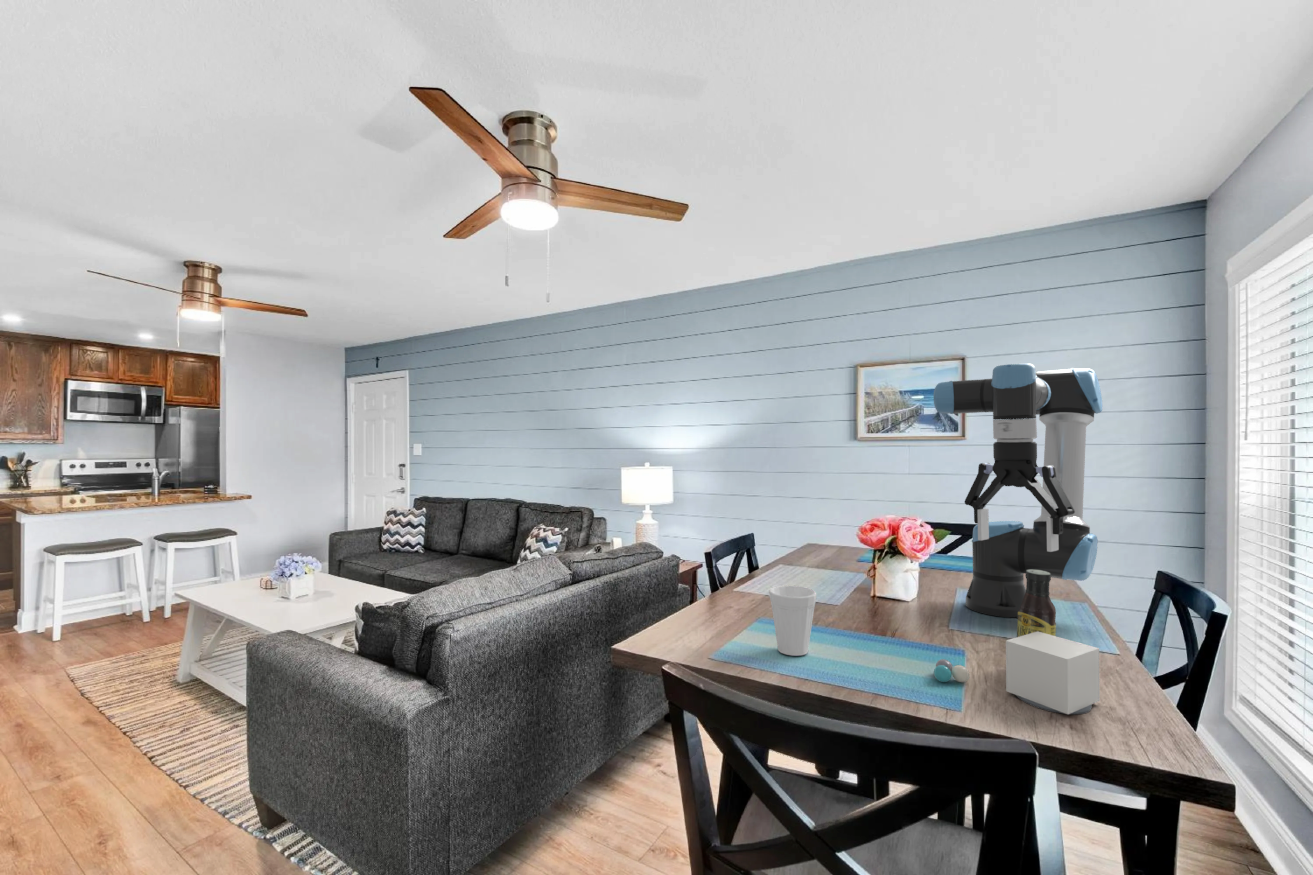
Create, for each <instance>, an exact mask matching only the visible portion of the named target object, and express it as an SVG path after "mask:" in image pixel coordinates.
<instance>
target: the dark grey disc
mask: <svg viewBox="0 0 1313 875" xmlns="http://www.w3.org/2000/svg"><path fill="white" fill-rule="evenodd" d="M1015 696H1016V697H1017V698H1018V699H1019V700H1021V701H1022V702H1024V703H1025V704H1027V705H1030V706H1032V707H1035V708H1038V709H1040V710H1044V711H1047V712H1051V713H1056V714H1057V713H1058V714H1063V715H1064V714H1065V713H1063V712H1060V711H1057V710H1055V709H1052V708H1050V707H1047V706H1044V705H1042V704H1039V703H1036V702H1034V701H1031V700H1028V699H1026V698H1023V697H1021V696H1018V695H1015ZM1092 705H1093V704H1091V705H1089V706H1087V707H1084V708H1082V709H1080V710H1077V711H1075V712H1073V713H1070V714H1069V715H1084V714H1087V713H1089V712H1091V710H1092ZM1065 715H1066V714H1065Z"/></svg>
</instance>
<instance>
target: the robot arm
mask: <svg viewBox="0 0 1313 875" xmlns="http://www.w3.org/2000/svg"><path fill="white" fill-rule="evenodd" d="M991 375H992V377H991V378H984V379H983V378H982V379H968V380H967V379H966V380H954V381H952V380H949V381H942V382H939V383H938V384H936V385H935V387H934V391H933V405H934V408H935V410H936V411H937V412H938V413H939V414H945V415H946V414H950V415H954V414H956V415H957V414H975V413H976V414H977V413H992V427H993V429H992V431H993V432H992V434H993V438H992V439H994V440H996V441H994V443H993V454H992V455H993V461H994V463H993V464H992V463H991V462H982V463H979V464H978V470H977V475H976V477H975V479H974V481H973V483H972V485H971V487H970V489H969V491H968V494H967V495H966V497H965V499H964V504H965V505H966V506H970V507H971V508H973V520H974V523H975V524H976V525H975V526H974V527H973V529H972V540H971V545H972V578H971V582H970V585H969V587H968V590H967V593H966V595H965V606H966V607H967V608H968V609H969V610H972V611H974V612H977V613H981V614H984V615H989V616H994V617H1003V618H1018V611H1019V609H1020V606H1021V604H1022V601H1023V598H1024V596H1025V593H1026V586H1025V582H1024V574H1025V575H1026V570H1030V569H1032V570H1042V571H1046V572H1049V573H1050V574H1051V579H1061V580H1063V581H1067V580H1068V581H1076V582H1077V581H1078V582H1079V581H1080V582H1081V581H1086V580H1087V579H1088V578H1089V577H1090V576H1091V574H1092V573H1093V570H1094V568H1095V563H1096V560H1097V559H1096V558H1097V554H1098V553H1097V552H1098V543H1099V542H1098V541H1099V540H1098V536H1097V535H1096V534H1093V533H1090V532H1091V527H1090V525H1089V524H1087V523H1086V522H1085V521H1084V519H1083V518H1084V517H1083V516H1084V515H1083V514H1084V513H1083V512H1084V493H1085V492H1084V490H1085V486H1084V485H1085V463H1086V441H1087V440H1086V438H1087V427H1088V426H1089V425H1090V424H1091V423H1093V422H1094V421H1095V414H1100V413H1102V412H1103V396H1102V393H1101V386H1100V383H1099V379H1098V376H1097V373H1096V372H1095V371H1094V370H1093V369H1091V368H1087V367H1085V368H1074V367H1071V368H1067V369H1066V368H1063V369H1053V370H1050V369H1049V370H1040V371H1038V370H1037V371H1036V367H1035V365H1034V364H1033V363H1010V364H1001V365H996V366H995V367H994V368H993V369H992V374H991ZM1037 415H1039V417H1038V419H1039V421H1040V422H1041V423H1042V424H1043V425H1044V426H1045V431H1044V432H1045V434H1044V436H1045V437H1044V449H1043V450H1044V452H1043V453H1044V454H1043V466H1038V464H1037V460H1038V443H1037V442H1036V441H1034V440H1035V439H1036V438H1038V432H1037V430H1038V429H1037ZM992 473H994V475H995V477H994V479H993V480H992V481H991V482H990V484H989V486H988V487H987V488H986V489H985V490H984V491H983V489H984V488H985V486H986V484H987V482H988V480H989V478H990V475H991V474H992ZM1038 474H1039V476H1040V477H1041V478H1042V484H1041V483H1040V481H1039V480H1038V479H1037V478H1036V477H1037V475H1038ZM1003 487H1015V488H1025V489H1026V490H1028V491H1029V492H1030V493H1031V494H1032V495H1033V496H1034V498H1035V499H1036V500H1037V502H1038V503H1039V504H1040V505H1041V509H1040V511H1041V512H1040V516H1039V517H1037V518H1036V519H1034V520H1033V523H1032V524H1033V526H1032V528H1027V527H1025V525H1024V523H1023V522H1022V521H1018V520H1017V521H1016V520H1003V521H1002V520H999V521H989V517H990V516H989V508H986V506H987V504H988V503H989V502H991V500H992V499H993V498H994V497H995V495H996V494H997V493H998V492H999V491H1000V490H1001V489H1002V488H1003ZM982 492H983V493H982Z"/></svg>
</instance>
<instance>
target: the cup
mask: <svg viewBox="0 0 1313 875" xmlns="http://www.w3.org/2000/svg"><path fill="white" fill-rule="evenodd" d="M768 593H769V600H770V603H771V604H770V605H771V611H772V617H773V624H774V632H775V637H776V644H777V651H778V652H780V653H781V654H784V655H787V656H793V657H794V656H804V655H806V654H808V652H809V648H810V640H811V632H812V626H813V619H814V613H815V606H816V602H817V592H816V591H815V590H814V589H813V588H810V587H805V586H801V585H800V586H799V585H788V584H787V585H777V586H774V587H771V588H770V589H769V590H768Z"/></svg>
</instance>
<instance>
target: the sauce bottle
mask: <svg viewBox="0 0 1313 875" xmlns="http://www.w3.org/2000/svg"><path fill="white" fill-rule="evenodd" d="M1024 576H1025V578H1026V586H1025V588H1026V593H1025V596H1024V598H1023V601H1022V604H1021V606H1020V609H1019V611H1018V617H1017V624H1016V627H1017V628H1016V629H1017V630H1016V637H1020V636H1023V635H1027V634H1030V633H1033V632H1037V631H1038V632H1042V633H1046V634H1049V635H1053V636H1056V633H1057V623H1056V622H1057V621H1056V614H1057V610H1056V606H1055V605H1054V603H1053V602H1052V600H1051V598H1050V594H1051V592H1050V582H1051V579H1052V577H1051V574H1050V573H1049V572H1046V571H1042V570H1032V569H1030V570H1026V574H1025V575H1024ZM1056 637H1057V636H1056Z"/></svg>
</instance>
